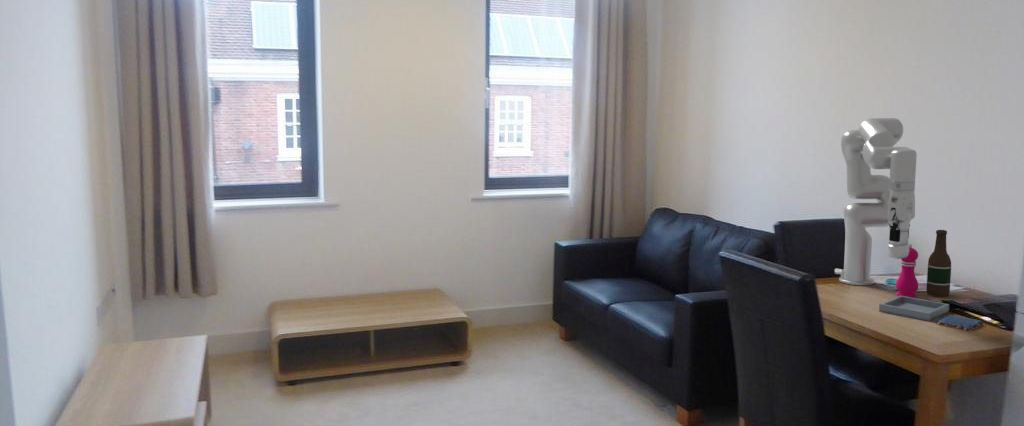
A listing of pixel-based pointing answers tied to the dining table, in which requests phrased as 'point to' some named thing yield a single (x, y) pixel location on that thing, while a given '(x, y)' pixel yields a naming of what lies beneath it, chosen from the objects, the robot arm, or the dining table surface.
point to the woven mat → (959, 322)
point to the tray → (914, 308)
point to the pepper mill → (908, 275)
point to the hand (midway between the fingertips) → (898, 239)
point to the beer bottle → (939, 268)
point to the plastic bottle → (901, 247)
